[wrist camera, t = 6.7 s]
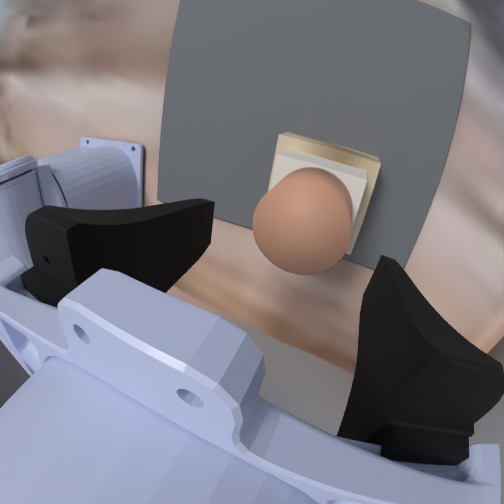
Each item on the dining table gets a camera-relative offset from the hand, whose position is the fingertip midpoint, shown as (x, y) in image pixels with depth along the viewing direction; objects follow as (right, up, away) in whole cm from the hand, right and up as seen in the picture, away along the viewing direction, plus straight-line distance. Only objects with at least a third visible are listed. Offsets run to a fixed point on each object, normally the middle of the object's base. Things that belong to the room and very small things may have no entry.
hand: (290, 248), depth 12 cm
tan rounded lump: (+2, +2, +4) cm, 5 cm away
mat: (+2, +10, +6) cm, 12 cm away
